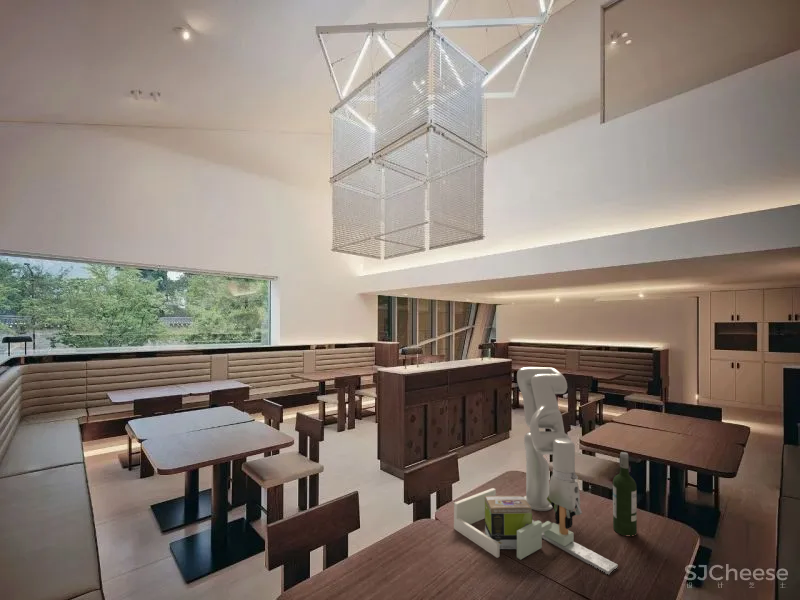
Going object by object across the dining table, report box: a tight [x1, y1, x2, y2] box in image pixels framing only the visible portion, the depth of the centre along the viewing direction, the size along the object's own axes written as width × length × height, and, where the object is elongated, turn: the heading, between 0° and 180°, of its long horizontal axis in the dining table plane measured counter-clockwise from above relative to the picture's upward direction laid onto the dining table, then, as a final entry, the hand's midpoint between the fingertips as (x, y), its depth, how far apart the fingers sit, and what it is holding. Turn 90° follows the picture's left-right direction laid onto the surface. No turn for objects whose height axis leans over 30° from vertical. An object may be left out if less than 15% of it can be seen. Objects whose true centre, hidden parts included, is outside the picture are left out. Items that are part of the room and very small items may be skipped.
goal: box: [453, 487, 533, 559], centre depth 146 cm, size 22×22×10 cm
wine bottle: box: [612, 451, 638, 536], centre depth 149 cm, size 8×8×30 cm
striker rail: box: [532, 519, 619, 576], centre depth 141 cm, size 6×40×1 cm, turn 35°
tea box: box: [484, 495, 533, 550], centre depth 141 cm, size 15×10×15 cm, turn 91°
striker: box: [516, 506, 575, 561], centre depth 136 cm, size 24×8×14 cm, turn 125°
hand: (563, 524), depth 139 cm, fingers closed on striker, 3 cm apart
